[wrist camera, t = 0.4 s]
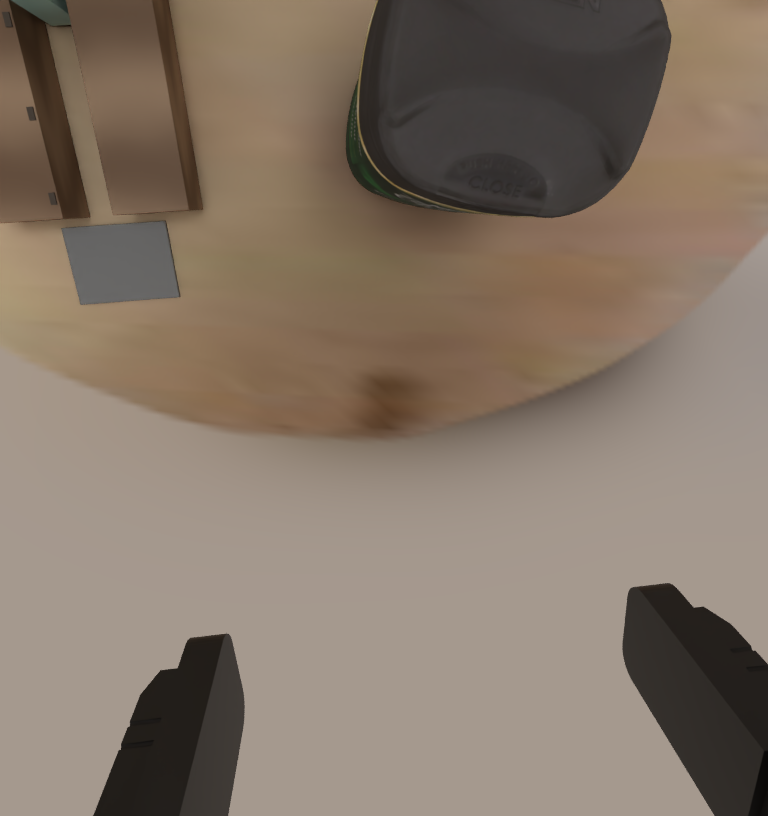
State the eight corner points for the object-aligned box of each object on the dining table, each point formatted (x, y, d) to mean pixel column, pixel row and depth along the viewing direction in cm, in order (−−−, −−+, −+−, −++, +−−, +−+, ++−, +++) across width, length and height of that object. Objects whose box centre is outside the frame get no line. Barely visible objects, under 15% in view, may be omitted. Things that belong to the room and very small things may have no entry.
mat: (62, 228, 33) (61, 228, 33) (165, 220, 33) (164, 220, 33) (81, 304, 35) (80, 304, 34) (180, 296, 35) (179, 297, 35)
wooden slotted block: (-90, -176, 27) (-151, -232, 23) (137, -183, 27) (109, -238, 24) (20, 221, 33) (-16, 223, 29) (203, 209, 33) (188, 209, 30)
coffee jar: (336, 193, 34) (338, 181, 16) (359, 44, 31) (389, -160, 14) (489, 224, 35) (641, 244, 18) (523, 83, 33) (739, -56, 15)
